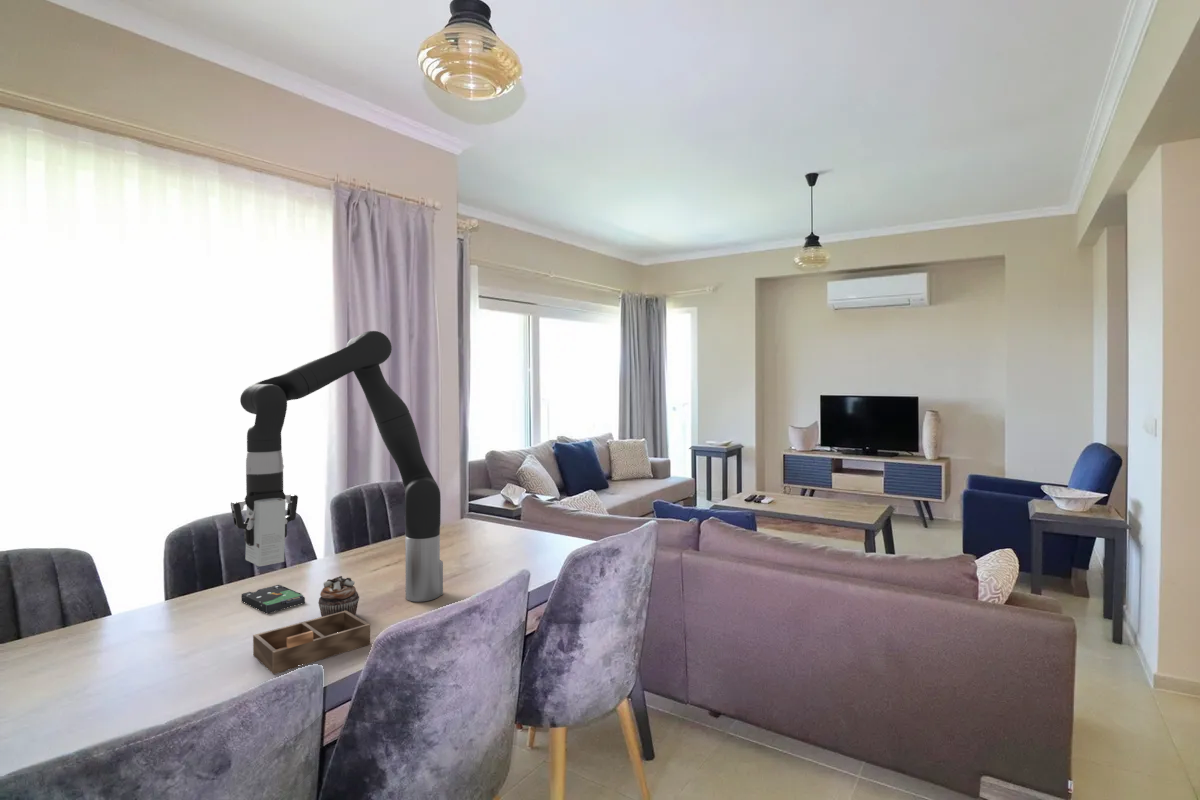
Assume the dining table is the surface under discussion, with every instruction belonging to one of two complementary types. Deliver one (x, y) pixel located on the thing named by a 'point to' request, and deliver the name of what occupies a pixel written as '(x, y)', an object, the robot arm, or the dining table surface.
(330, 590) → the cupcake
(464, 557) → the dining table surface
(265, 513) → the skincare box
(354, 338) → the robot arm
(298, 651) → the compartment tray
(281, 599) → the disk drive
